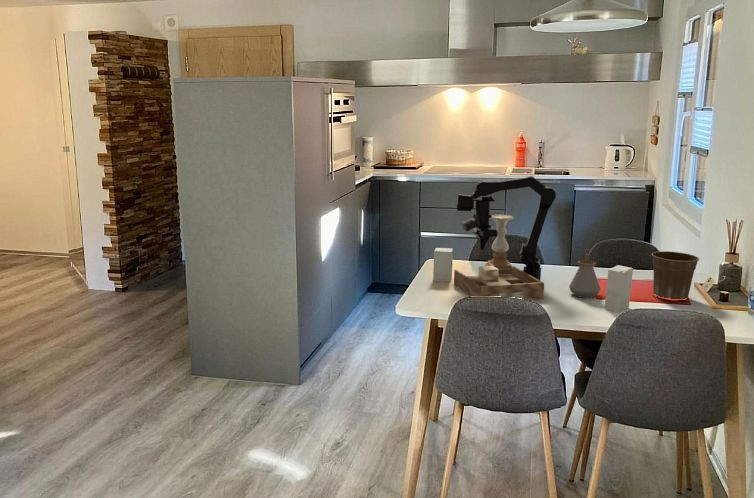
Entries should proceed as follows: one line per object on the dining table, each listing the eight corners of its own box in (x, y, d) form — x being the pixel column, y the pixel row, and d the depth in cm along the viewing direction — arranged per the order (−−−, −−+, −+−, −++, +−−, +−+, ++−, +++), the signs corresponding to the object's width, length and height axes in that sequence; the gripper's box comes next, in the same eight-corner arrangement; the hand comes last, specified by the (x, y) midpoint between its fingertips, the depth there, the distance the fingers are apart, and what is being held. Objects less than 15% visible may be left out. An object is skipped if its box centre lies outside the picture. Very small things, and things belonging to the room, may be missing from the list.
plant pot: (691, 293, 258) (695, 252, 254) (697, 305, 242) (702, 262, 239) (645, 289, 262) (649, 249, 259) (649, 301, 247) (654, 258, 243)
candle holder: (513, 273, 285) (516, 218, 280) (488, 273, 286) (490, 218, 280) (509, 267, 296) (512, 214, 291) (484, 267, 296) (487, 214, 291)
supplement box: (450, 282, 271) (451, 251, 269) (432, 281, 273) (433, 251, 270) (452, 277, 278) (453, 248, 276) (434, 276, 280) (435, 247, 277)
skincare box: (613, 304, 243) (617, 264, 240) (630, 307, 239) (633, 267, 236) (603, 309, 237) (607, 268, 234) (620, 312, 233) (623, 271, 230)
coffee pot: (600, 300, 247) (603, 261, 244) (567, 297, 251) (570, 258, 248) (600, 285, 267) (603, 249, 264) (570, 283, 271) (572, 247, 268)
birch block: (492, 275, 271) (492, 265, 270) (498, 279, 265) (498, 269, 264) (478, 276, 269) (478, 266, 268) (484, 280, 264) (484, 270, 263)
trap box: (513, 280, 274) (514, 266, 273) (543, 298, 250) (544, 282, 248) (453, 284, 269) (454, 269, 267) (478, 302, 244) (478, 286, 243)
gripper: (455, 209, 277) (454, 245, 280) (472, 216, 259) (471, 255, 262) (481, 208, 279) (479, 244, 283) (499, 215, 262) (497, 254, 265)
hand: (481, 249), depth 273 cm, fingers closed
